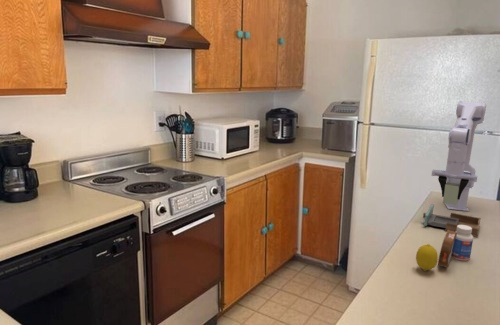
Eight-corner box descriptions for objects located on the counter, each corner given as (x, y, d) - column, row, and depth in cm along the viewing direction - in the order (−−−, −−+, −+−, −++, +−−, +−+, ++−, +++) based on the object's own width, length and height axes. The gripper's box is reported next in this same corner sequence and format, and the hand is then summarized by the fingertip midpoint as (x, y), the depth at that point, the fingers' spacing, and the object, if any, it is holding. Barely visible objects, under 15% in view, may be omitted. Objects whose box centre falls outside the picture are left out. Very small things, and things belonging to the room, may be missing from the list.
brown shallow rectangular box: (449, 220, 150) (450, 212, 150) (479, 226, 145) (480, 218, 144) (444, 231, 140) (446, 223, 139) (477, 237, 134) (478, 229, 134)
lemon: (411, 270, 111) (414, 244, 109) (419, 264, 115) (422, 238, 113) (431, 277, 107) (434, 250, 105) (438, 270, 111) (442, 244, 109)
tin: (444, 250, 124) (447, 225, 122) (455, 252, 122) (458, 227, 120) (436, 269, 112) (439, 242, 110) (448, 273, 110) (452, 245, 108)
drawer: (427, 213, 155) (428, 203, 154) (459, 219, 149) (460, 209, 148) (420, 224, 143) (421, 214, 142) (455, 232, 137) (456, 221, 136)
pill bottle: (461, 262, 116) (465, 231, 114) (446, 254, 121) (449, 225, 119) (474, 259, 118) (478, 229, 116) (458, 251, 123) (463, 222, 121)
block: (444, 199, 147) (446, 181, 145) (457, 202, 145) (460, 183, 143) (442, 202, 143) (445, 184, 142) (456, 205, 141) (459, 186, 140)
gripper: (432, 160, 141) (427, 196, 144) (478, 166, 134) (472, 204, 137) (435, 157, 147) (430, 191, 150) (479, 162, 139) (474, 199, 142)
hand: (450, 197), depth 144 cm, fingers closed on block, 4 cm apart
